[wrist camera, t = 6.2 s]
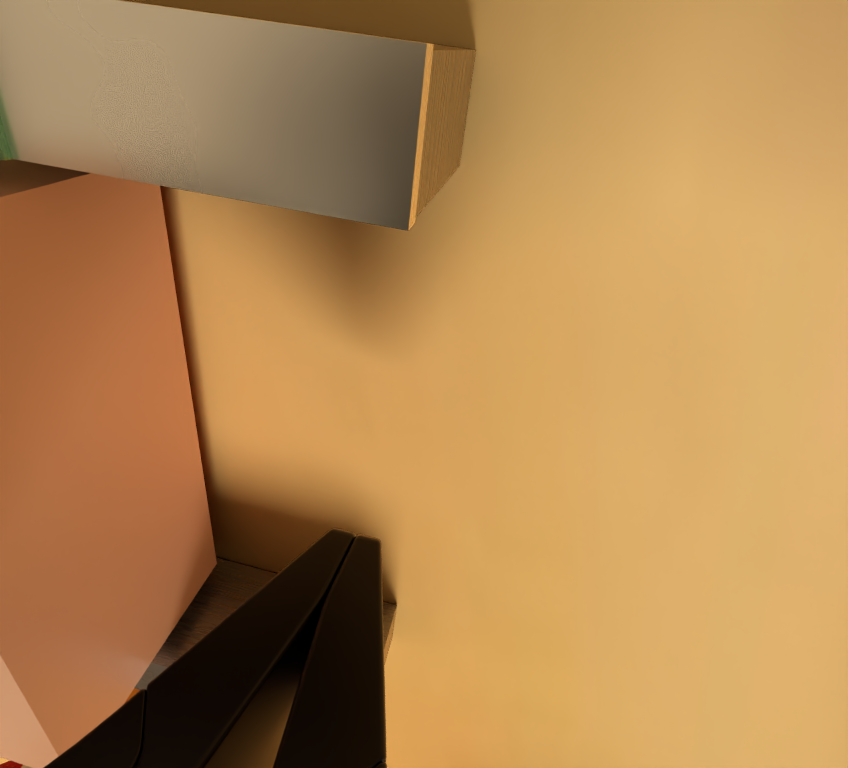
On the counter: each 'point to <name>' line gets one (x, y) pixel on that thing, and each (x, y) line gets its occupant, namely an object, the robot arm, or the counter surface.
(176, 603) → the long salmon pink beam
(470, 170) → the counter surface
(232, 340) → the counter surface
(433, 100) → the gauge frame
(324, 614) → the robot arm
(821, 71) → the counter surface
